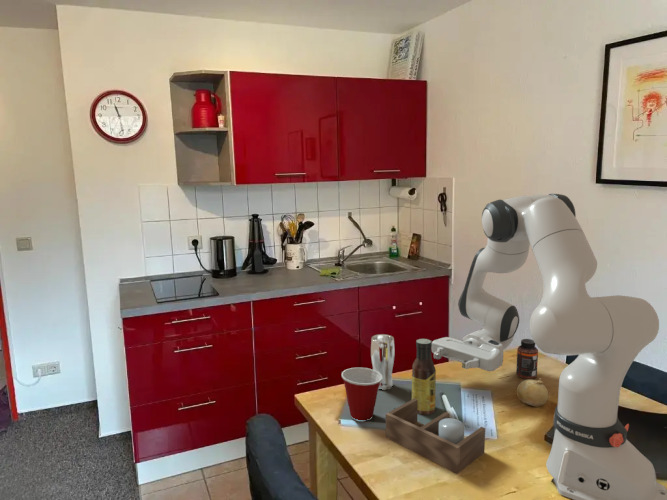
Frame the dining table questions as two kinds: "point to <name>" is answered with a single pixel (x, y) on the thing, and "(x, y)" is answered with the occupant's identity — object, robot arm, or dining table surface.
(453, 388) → the dining table surface
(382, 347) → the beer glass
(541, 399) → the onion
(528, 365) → the supplement bottle
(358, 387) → the plastic cup
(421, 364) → the sauce bottle
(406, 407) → the walnut rail
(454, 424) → the grey rounded cylinder
